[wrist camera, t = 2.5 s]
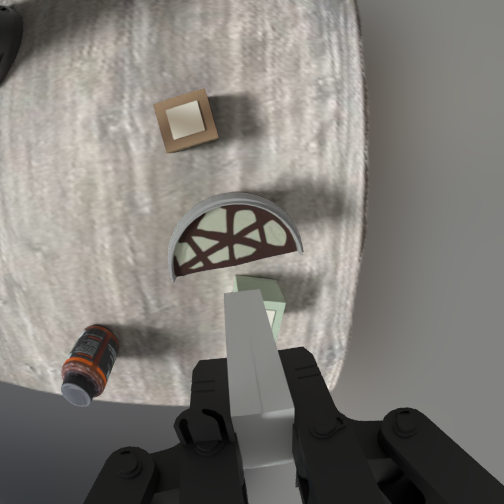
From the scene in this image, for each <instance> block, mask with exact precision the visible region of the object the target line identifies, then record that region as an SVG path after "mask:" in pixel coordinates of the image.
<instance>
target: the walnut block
mask: <svg viewBox="0 0 504 504" xmlns="http://www.w3.org/2000/svg"><path fill="white" fill-rule="evenodd" d="M154 109H155V113H156V116H157V120H158V124H159V127H160V131H161V134H162V138H163V141H164V145H165V148H166V152H167V153H175V152H178V151H181V150H184V149H187V148H190V147H194V146H197V145H200V144H204V143H207V142H210V141H214V140H217V139H219V137H218V134H217V130H216V127H215V123H214V119H213V116H212V112H211V109H210V105H209V102H208V98H207V94H206V91H205V88H204V89H200V90H197V91H194V92H190V93H187V94H184V95H180V96H177V97H174V98H171V99H168V100H165V101H162V102H159V103H156V104H154Z"/></svg>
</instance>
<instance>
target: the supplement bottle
mask: <svg viewBox="0 0 504 504" xmlns="http://www.w3.org/2000/svg"><path fill="white" fill-rule="evenodd" d="M118 351H119V344H118V341H117V339H116V337H115V336H114V335H113V334H112V333H111V332H110V331H109V330H107V329H105V328H103V327H100V326H89V327H87V328H86V329H85V330H84V331H83V332H82V334H81V335H80V337H79V339H78V340H77V342H76V344H75V345H74V347H73V349H72V350H71V352H70V354H69V356H68V358H67V359H66V361H65V363H64V365H63V367H62V372H61V373H62V378H63V384H62V386H61V392H62V394H63V396H64V397H65V398H66V399H67V400H68V401H69V402H71V403H72V404H74V405H77V406H82V407H85V406H88V405H90V403H91V401H92V399H93V398H94V397H97V396H99V395H101V394H102V392H103V391H104V389H105V386H106V383H107V381H108V378H109V375H110V373H111V370H112V367H113V365H114V362H115V360H116V357H117V354H118Z"/></svg>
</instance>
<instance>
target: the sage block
mask: <svg viewBox="0 0 504 504" xmlns="http://www.w3.org/2000/svg"><path fill="white" fill-rule="evenodd" d="M256 289H260V291H261V295H262V298H263V302H264V305H265V309H266V312H267V316H268V319H269V322H270V326H271V329H272V333H273V336H274V340H275V341H276V339H277V336H278V332H279V328H280V324H281V321H282V317H283V313H284V309H285V305H286V302H285V299H284V297H283V295H282V293H281V290H280V288H279V286H278V283H277V281H276V280H273V279H265V278H256V277H248V276H240V275H235V281H234V287H233V292H239V291H248V290H256Z"/></svg>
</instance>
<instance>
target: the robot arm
mask: <svg viewBox="0 0 504 504" xmlns="http://www.w3.org/2000/svg"><path fill="white" fill-rule="evenodd" d="M21 37H22V20H21V17H20V15H19V14H18V12H16V11H15V10H13V9H11V8H9V7H7V6H0V82H1V81H2V80H3V78H4V77H5V75H6V74H7V72H8V70H9V68H10V67H11V65H12V63H13V61H14V58H15V56H16V54H17V51H18V48H19V45H20V41H21ZM224 309H225V330H226V349H227V358H220V359H209V360H200V361H199V362H198V364H197V365H196V367H195V368H194V370H193V374H192V386H191V400H190V408H189V409H187V410H185V411H183V412H182V413H181V414H180V415H179V416H178V417H177V418H176V421H175V423H174V429H175V431H176V433H177V436H178V438H179V440H180V443H179V444H177V445H176V446H174V447H172V448H169V449H166V450H163V451H159V452H155V453H151V454H149V453H148V452H147V451H145V450H143V449H141V448H139V447H130V446H129V447H124V448H120V449H118V450H117V451H115V452H113V453H112V454H111V455H110V456H109V458H108V459H107V460H106V462H105V464H104V466H103V468H102V470H101V472H100V473H99V475H98V477H97V479H96V481H95V483H94V485H93V486H92V488H91V490H90V492H89V494H88V496H87V498H86V499H85V501H84V503H83V504H248V497H247V488H246V483H245V479H244V471H243V469H249V468H257V467H265V466H272V465H279V464H285V463H291V462H293V457H294V461H295V465H296V487H299V491H300V495H301V499H302V503H303V504H504V486H503V485H502V484H501V483H500V482H499V481H498V480H497V479H496V478H495V477H493V476H492V475H491V474H490V473H489V472H488V471H487V470H486V469H484V468H483V467H482V466H481V465H480V464H479V463H478V462H477V461H475V460H474V459H473V458H472V457H471V456H470V455H469V454H468V453H467V452H465V451H464V450H463V449H462V448H461V447H460V446H459V445H458V444H456V443H455V442H454V441H453V440H452V439H451V438H450V437H449V436H447V435H446V434H445V433H444V432H443V431H442V430H441V429H440V428H439V427H437V426H436V425H435V424H434V423H433V422H432V421H431V420H430V419H429V418H427V417H426V416H425V415H424V414H423V413H421V412H419V411H418V410H416V409H412V408H398V409H396V410H392V411H390V412H389V413H388V414H387V415H386V416H385V417H384V419H383V421H357V420H353V419H350V418H347V417H346V416H345V415H343V414H342V413H340V412H339V411H338V410H337V408H336V406H335V404H334V402H333V400H332V397H331V395H330V393H329V390H328V388H327V386H326V384H325V381H324V379H323V377H322V376H321V372H320V370H319V368H318V367H317V363H316V361H315V358H314V356H313V354H312V353H310V352H309V351H308V350H307V349H305V348H304V347H297V348H290V349H284V350H277V346H276V343H275V340H274V336H273V333H272V329H271V326H270V322H269V319H268V316H267V312H266V309H265V305H264V302H263V298H262V295H261V291H260V289H256V290H248V291H239V292H231V293H224Z"/></svg>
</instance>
